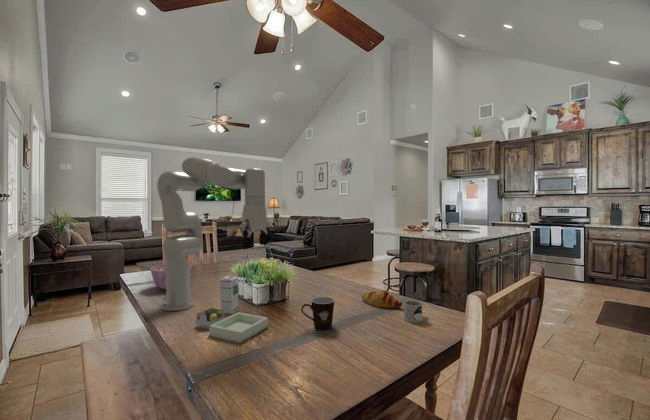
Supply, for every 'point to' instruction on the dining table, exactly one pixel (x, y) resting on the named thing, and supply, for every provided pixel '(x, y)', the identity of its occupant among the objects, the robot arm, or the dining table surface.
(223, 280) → the syrup box
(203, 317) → the open shelf cabinet
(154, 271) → the bowl of food
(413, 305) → the mug
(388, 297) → the croissant
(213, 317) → the ball
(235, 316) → the tray
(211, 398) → the dining table surface
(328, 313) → the coffee mug
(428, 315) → the dining table surface
